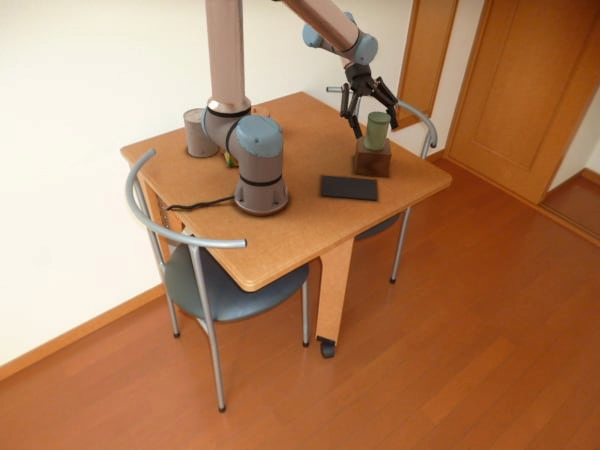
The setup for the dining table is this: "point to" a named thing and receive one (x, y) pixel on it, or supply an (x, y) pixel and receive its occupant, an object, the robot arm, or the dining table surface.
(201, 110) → the grey cylinder
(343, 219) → the dining table surface
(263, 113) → the trinket box
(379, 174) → the walnut block
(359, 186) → the rubber mat
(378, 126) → the green tin
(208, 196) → the dining table surface
